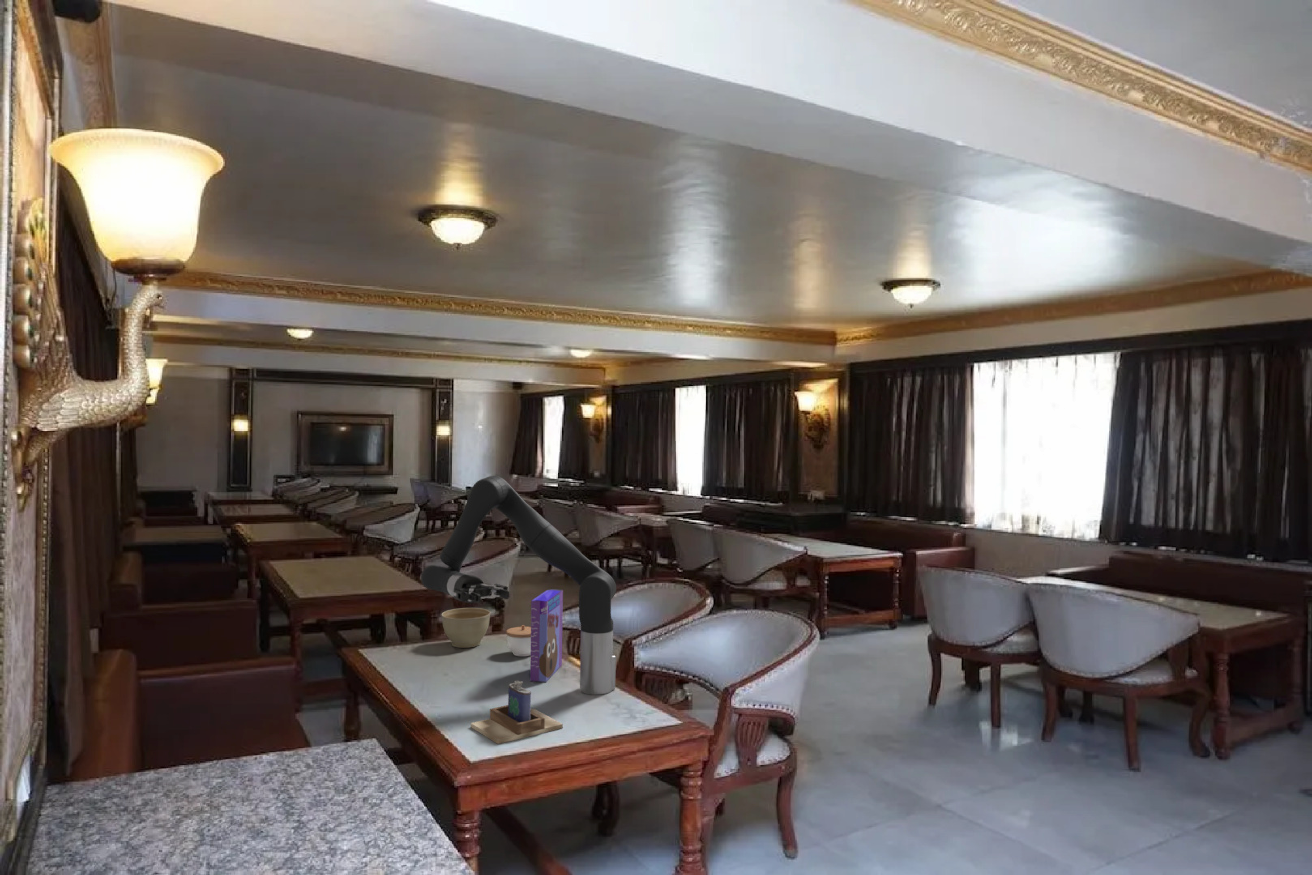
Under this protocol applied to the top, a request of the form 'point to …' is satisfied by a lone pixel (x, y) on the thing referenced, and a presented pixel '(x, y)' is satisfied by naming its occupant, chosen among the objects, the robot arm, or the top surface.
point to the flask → (519, 702)
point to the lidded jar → (519, 640)
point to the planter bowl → (465, 626)
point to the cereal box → (546, 635)
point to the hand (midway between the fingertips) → (493, 597)
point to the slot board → (514, 725)
